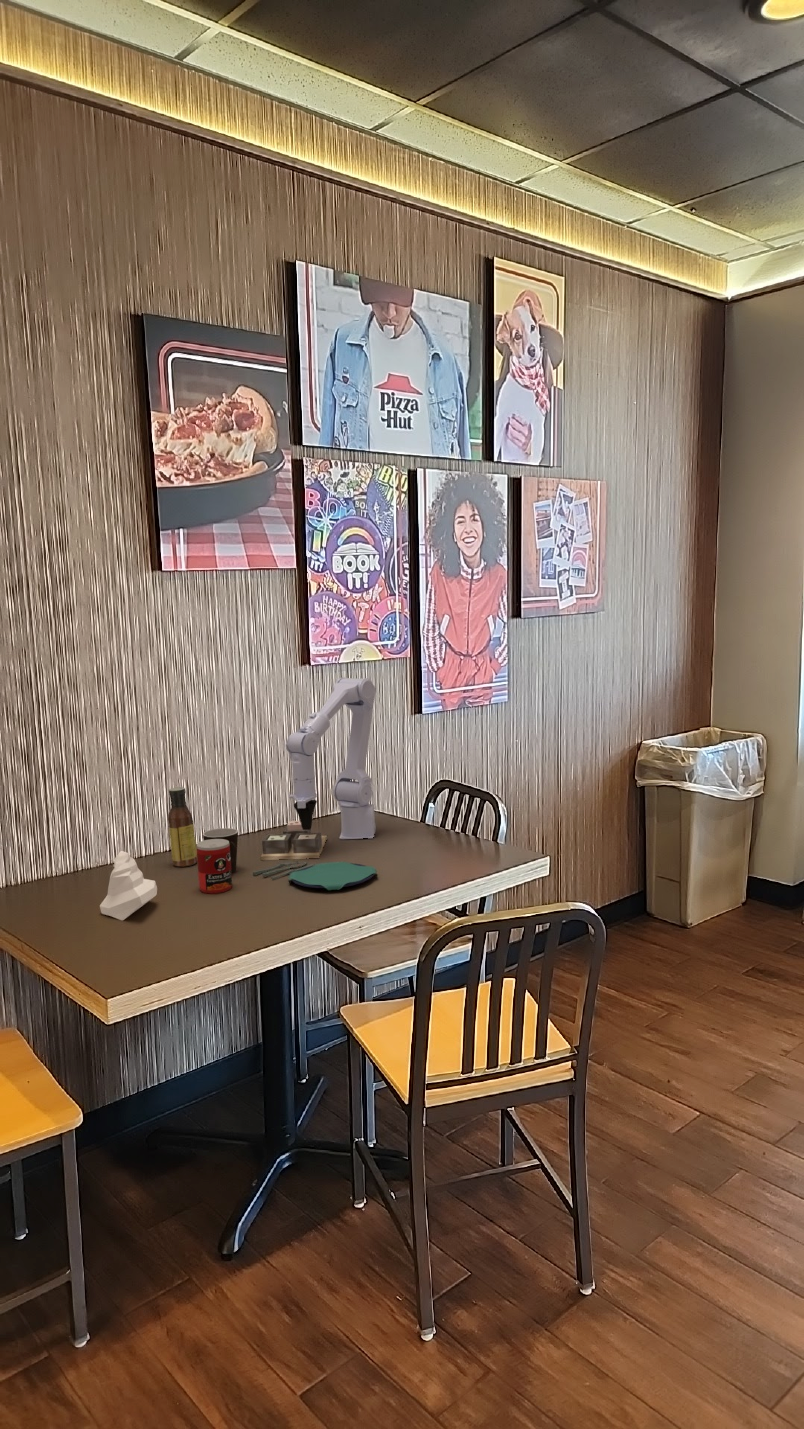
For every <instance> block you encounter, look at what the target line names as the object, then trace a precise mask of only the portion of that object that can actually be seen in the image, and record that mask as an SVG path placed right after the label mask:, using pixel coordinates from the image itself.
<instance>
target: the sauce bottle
mask: <svg viewBox="0 0 804 1429" xmlns="http://www.w3.org/2000/svg"><path fill="white" fill-rule="evenodd" d="M168 793H169V794H168V795H169V798H170V807H171V808H170V809H169V811H168V815H167V816H168V817H167V821H168V831H169V832H168V833H169V840H170V848H171V849H170V850H171V857H172V858H171V859H172V861H173V865H174V866H175V867H180V868H181V867H182V868H183V867H184V868H185V867H189V866H193V865H195V864H196V863H198V862H197V848H196V847H197V843H196V834H195V826H194V819H193V815H192V813H191V811H190V810H189V807H188V806H187V800H186V793H187V792H186V788H185V787H180V786H179V787H172V788H170V789H169V790H168Z"/></svg>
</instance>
